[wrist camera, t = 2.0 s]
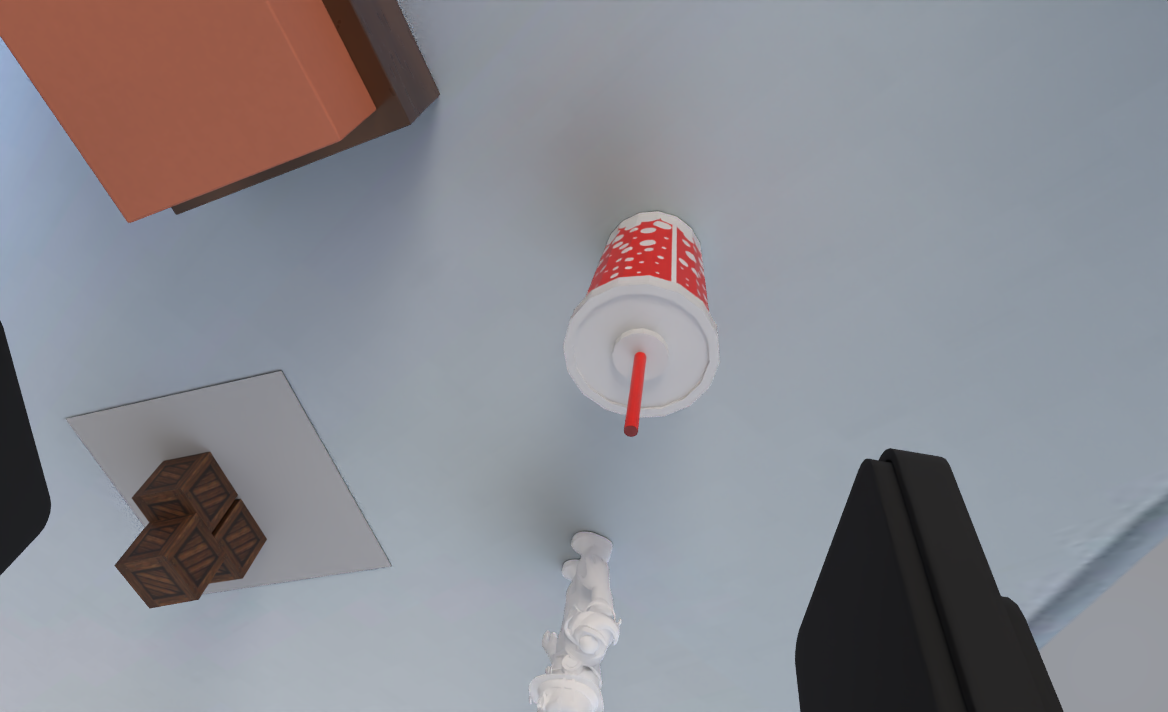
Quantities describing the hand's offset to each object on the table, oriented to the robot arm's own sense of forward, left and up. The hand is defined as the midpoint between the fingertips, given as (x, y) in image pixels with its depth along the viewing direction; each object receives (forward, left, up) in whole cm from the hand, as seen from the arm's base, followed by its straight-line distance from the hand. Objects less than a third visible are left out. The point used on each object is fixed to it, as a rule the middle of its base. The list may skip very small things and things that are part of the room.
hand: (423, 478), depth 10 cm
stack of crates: (+29, +23, -31) cm, 48 cm away
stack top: (+16, -3, -26) cm, 31 cm away
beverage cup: (+1, +11, -31) cm, 33 cm away
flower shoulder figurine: (+8, +30, -31) cm, 44 cm away
